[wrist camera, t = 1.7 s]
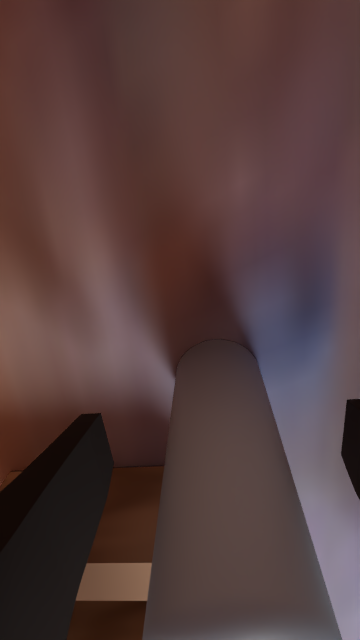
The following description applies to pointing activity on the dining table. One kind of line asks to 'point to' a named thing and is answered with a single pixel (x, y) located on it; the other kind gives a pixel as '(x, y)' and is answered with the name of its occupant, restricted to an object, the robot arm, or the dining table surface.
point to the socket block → (118, 558)
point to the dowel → (231, 515)
